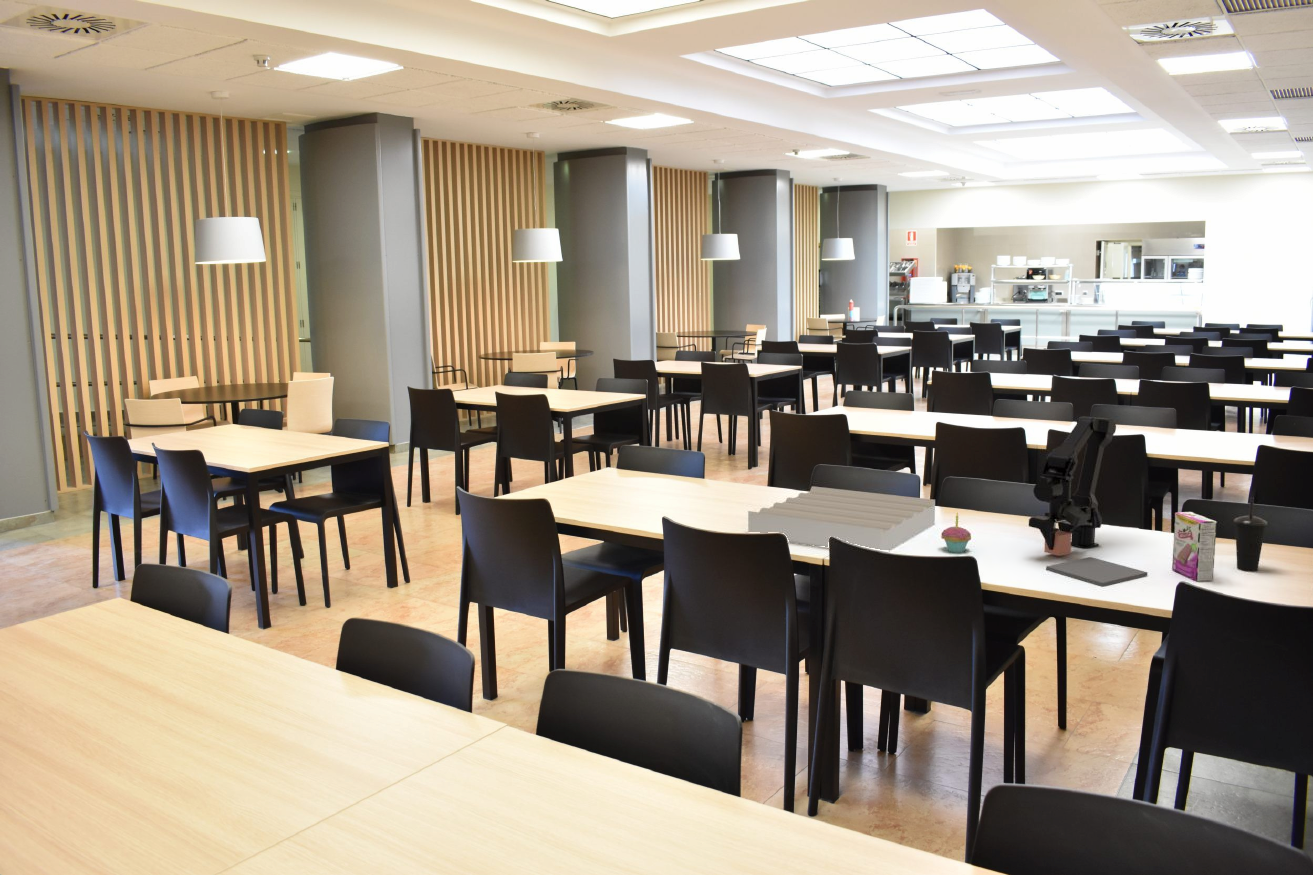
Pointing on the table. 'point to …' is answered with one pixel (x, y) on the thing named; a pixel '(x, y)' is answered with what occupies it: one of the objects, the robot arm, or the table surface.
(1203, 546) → the candy bar box
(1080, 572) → the mat
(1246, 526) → the drinking cup
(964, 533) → the cupcake
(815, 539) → the tray
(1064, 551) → the red block
